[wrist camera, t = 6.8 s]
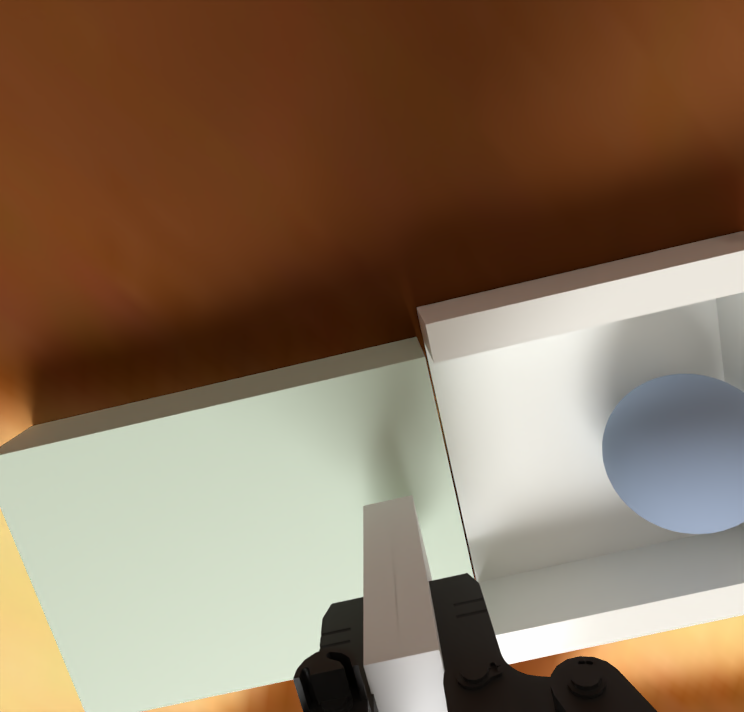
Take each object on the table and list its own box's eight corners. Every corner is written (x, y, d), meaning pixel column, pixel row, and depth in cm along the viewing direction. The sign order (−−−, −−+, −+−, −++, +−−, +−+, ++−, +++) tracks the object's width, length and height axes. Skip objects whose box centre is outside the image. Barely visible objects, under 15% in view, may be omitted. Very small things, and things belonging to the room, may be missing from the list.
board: (31, 426, 22) (-20, 459, 19) (416, 336, 21) (425, 357, 18) (122, 660, 24) (89, 722, 21) (471, 585, 23) (487, 638, 21)
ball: (565, 403, 19) (748, 426, 15) (632, 347, 22) (798, 355, 18) (584, 540, 20) (756, 590, 17) (645, 468, 24) (800, 498, 20)
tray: (416, 307, 21) (425, 324, 18) (742, 230, 20) (810, 234, 17) (481, 606, 24) (499, 665, 21) (770, 544, 23) (833, 596, 20)
